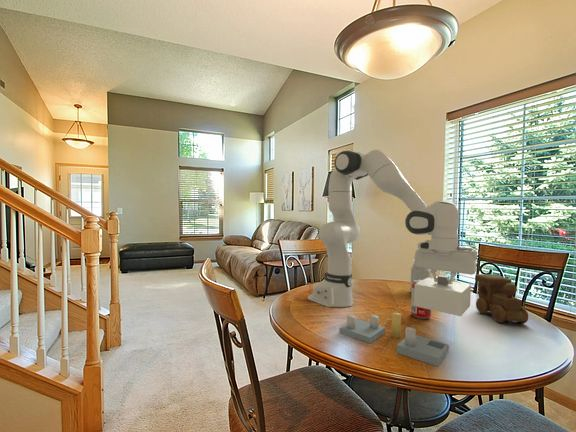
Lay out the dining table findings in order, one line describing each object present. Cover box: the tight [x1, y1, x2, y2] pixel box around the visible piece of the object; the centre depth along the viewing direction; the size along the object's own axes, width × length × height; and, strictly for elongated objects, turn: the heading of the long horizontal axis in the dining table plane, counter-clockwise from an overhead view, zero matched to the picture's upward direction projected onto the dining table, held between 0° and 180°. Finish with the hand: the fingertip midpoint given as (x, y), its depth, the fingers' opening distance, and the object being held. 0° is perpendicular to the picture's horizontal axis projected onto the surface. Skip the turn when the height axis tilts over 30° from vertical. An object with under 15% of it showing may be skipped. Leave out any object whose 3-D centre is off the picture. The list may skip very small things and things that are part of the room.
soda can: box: [410, 280, 432, 320], centre depth 126 cm, size 8×8×15 cm
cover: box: [414, 274, 472, 317], centre depth 110 cm, size 15×15×11 cm
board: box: [338, 314, 386, 344], centre depth 108 cm, size 12×12×6 cm
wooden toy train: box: [474, 273, 529, 324], centre depth 127 cm, size 20×11×17 cm, turn 0°
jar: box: [410, 259, 432, 293], centre depth 162 cm, size 10×10×18 cm
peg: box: [391, 312, 402, 339], centre depth 106 cm, size 3×3×8 cm
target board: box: [396, 326, 450, 367], centre depth 94 cm, size 12×12×8 cm
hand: (443, 282), depth 110 cm, fingers closed on cover, 3 cm apart
